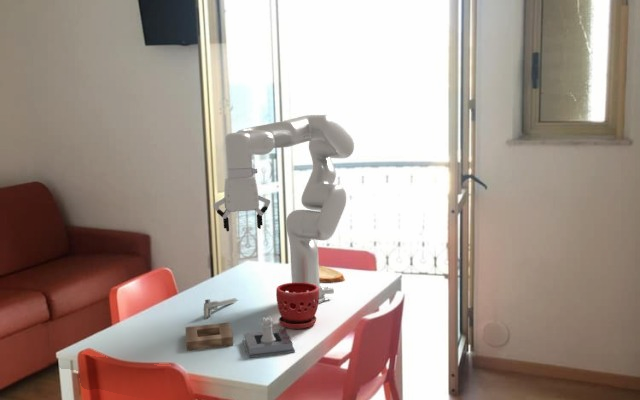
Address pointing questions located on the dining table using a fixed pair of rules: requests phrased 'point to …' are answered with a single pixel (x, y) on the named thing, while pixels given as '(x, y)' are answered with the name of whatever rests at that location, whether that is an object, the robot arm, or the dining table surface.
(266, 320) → the rook chess piece
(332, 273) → the golden brown flat disc
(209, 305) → the caliper
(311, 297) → the plant pot
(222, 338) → the socket block
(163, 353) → the dining table surface
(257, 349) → the holder
